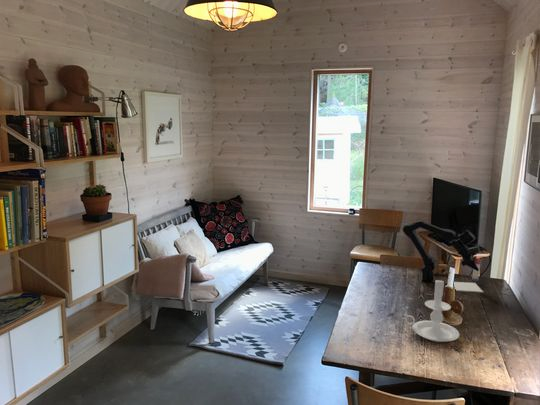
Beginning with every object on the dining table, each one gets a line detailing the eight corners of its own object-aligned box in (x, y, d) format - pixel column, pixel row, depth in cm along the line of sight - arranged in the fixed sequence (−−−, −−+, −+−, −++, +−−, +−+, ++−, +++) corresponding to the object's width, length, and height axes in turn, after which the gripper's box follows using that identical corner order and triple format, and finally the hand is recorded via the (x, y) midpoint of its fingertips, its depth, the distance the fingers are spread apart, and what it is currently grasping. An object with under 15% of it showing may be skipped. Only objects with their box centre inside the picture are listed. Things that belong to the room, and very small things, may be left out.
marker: (472, 280, 259) (475, 259, 257) (471, 278, 263) (473, 257, 260) (479, 281, 258) (481, 260, 256) (477, 279, 262) (479, 258, 260)
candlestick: (404, 322, 218) (408, 268, 213) (457, 330, 210) (463, 275, 205) (401, 340, 199) (405, 282, 194) (459, 351, 191) (465, 290, 186)
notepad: (453, 291, 260) (453, 290, 260) (447, 282, 275) (447, 281, 275) (483, 292, 258) (483, 291, 258) (475, 283, 272) (475, 282, 272)
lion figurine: (428, 273, 290) (429, 260, 289) (428, 271, 295) (429, 258, 294) (452, 276, 286) (453, 263, 284) (451, 273, 291) (452, 260, 289)
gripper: (469, 244, 251) (488, 266, 247) (475, 237, 266) (493, 258, 262) (453, 254, 257) (471, 276, 253) (460, 247, 272) (477, 268, 268)
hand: (478, 269), depth 259 cm, fingers closed on marker, 3 cm apart
